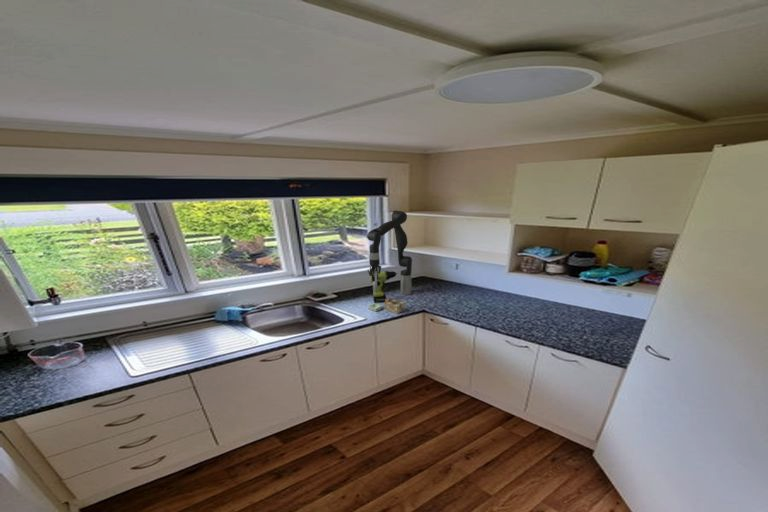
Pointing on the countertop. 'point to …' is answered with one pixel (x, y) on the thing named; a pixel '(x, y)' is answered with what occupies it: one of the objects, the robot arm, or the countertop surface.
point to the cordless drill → (382, 277)
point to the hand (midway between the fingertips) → (374, 280)
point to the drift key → (387, 301)
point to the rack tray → (375, 307)
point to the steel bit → (375, 283)
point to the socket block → (395, 306)
